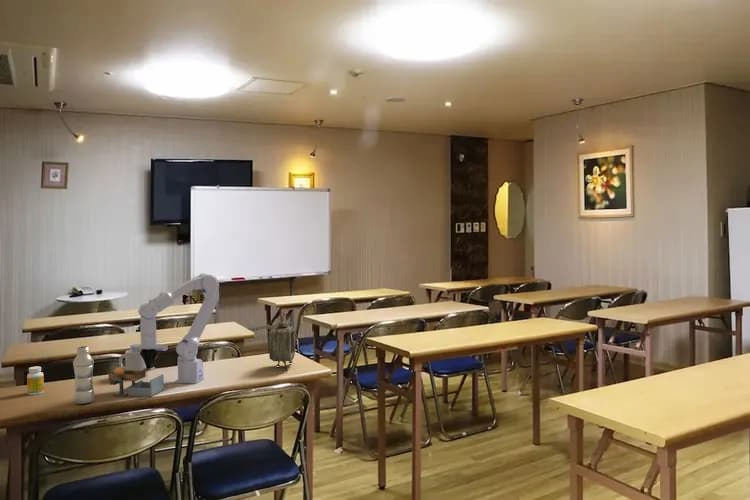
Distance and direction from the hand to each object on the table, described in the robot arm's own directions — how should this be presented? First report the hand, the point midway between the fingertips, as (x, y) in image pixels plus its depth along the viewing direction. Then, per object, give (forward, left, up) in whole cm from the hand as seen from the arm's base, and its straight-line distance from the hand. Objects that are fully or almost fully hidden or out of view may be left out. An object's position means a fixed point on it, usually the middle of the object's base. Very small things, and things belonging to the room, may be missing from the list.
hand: (149, 368), depth 224 cm
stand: (+4, +8, -7) cm, 12 cm away
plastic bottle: (+12, +22, -7) cm, 27 cm away
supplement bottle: (+39, +12, -7) cm, 42 cm away
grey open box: (-3, +8, -7) cm, 12 cm away
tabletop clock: (-43, -35, -7) cm, 56 cm away
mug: (+15, -14, -7) cm, 22 cm away
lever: (+4, +5, -4) cm, 8 cm away
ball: (+7, +8, +1) cm, 11 cm away
